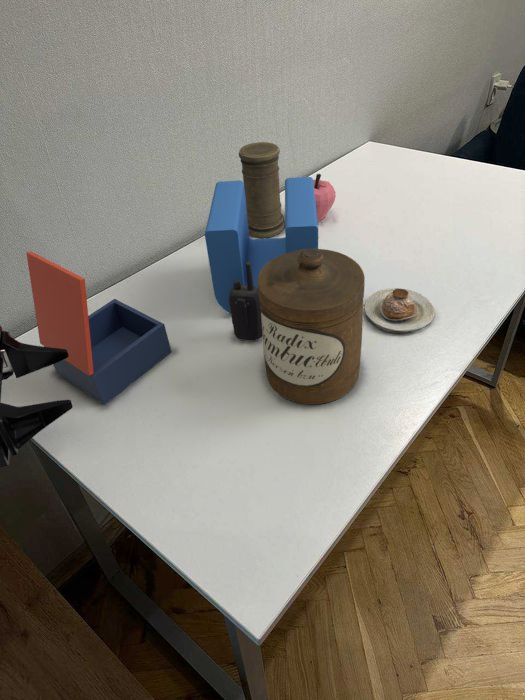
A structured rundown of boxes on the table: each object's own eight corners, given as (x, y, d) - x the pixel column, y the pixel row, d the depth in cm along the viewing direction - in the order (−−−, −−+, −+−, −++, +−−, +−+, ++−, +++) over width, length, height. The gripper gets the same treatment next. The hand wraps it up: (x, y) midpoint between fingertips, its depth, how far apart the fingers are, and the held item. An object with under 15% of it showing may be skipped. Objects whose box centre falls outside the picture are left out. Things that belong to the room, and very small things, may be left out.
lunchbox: (123, 325, 93) (114, 298, 88) (171, 352, 86) (164, 323, 82) (56, 372, 85) (43, 344, 80) (104, 405, 78) (92, 377, 74)
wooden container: (248, 385, 79) (233, 267, 65) (293, 330, 88) (289, 215, 74) (334, 419, 73) (340, 297, 58) (373, 356, 82) (386, 236, 67)
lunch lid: (31, 251, 73) (26, 252, 72) (85, 278, 66) (79, 279, 66) (44, 342, 80) (39, 343, 80) (93, 373, 74) (89, 375, 74)
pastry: (359, 295, 94) (360, 275, 91) (423, 291, 94) (427, 270, 91) (370, 337, 86) (372, 316, 83) (442, 332, 85) (446, 311, 82)
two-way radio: (266, 330, 89) (260, 257, 79) (261, 347, 86) (254, 273, 76) (236, 328, 90) (226, 255, 80) (229, 344, 87) (218, 271, 77)
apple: (292, 212, 120) (290, 171, 113) (327, 206, 121) (328, 165, 114) (302, 231, 113) (301, 189, 106) (339, 225, 114) (341, 183, 107)
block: (218, 319, 92) (204, 231, 80) (226, 264, 105) (215, 181, 93) (317, 315, 91) (318, 225, 79) (313, 260, 104) (313, 176, 92)
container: (269, 242, 111) (263, 161, 99) (237, 231, 115) (228, 152, 103) (292, 224, 116) (289, 145, 104) (261, 215, 120) (255, 138, 108)
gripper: (-128, 416, 45) (56, 380, 49) (-91, 300, 58) (51, 280, 63) (-77, 488, 52) (80, 452, 57) (-55, 371, 66) (71, 348, 70)
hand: (69, 377), depth 61 cm, fingers open, 9 cm apart
